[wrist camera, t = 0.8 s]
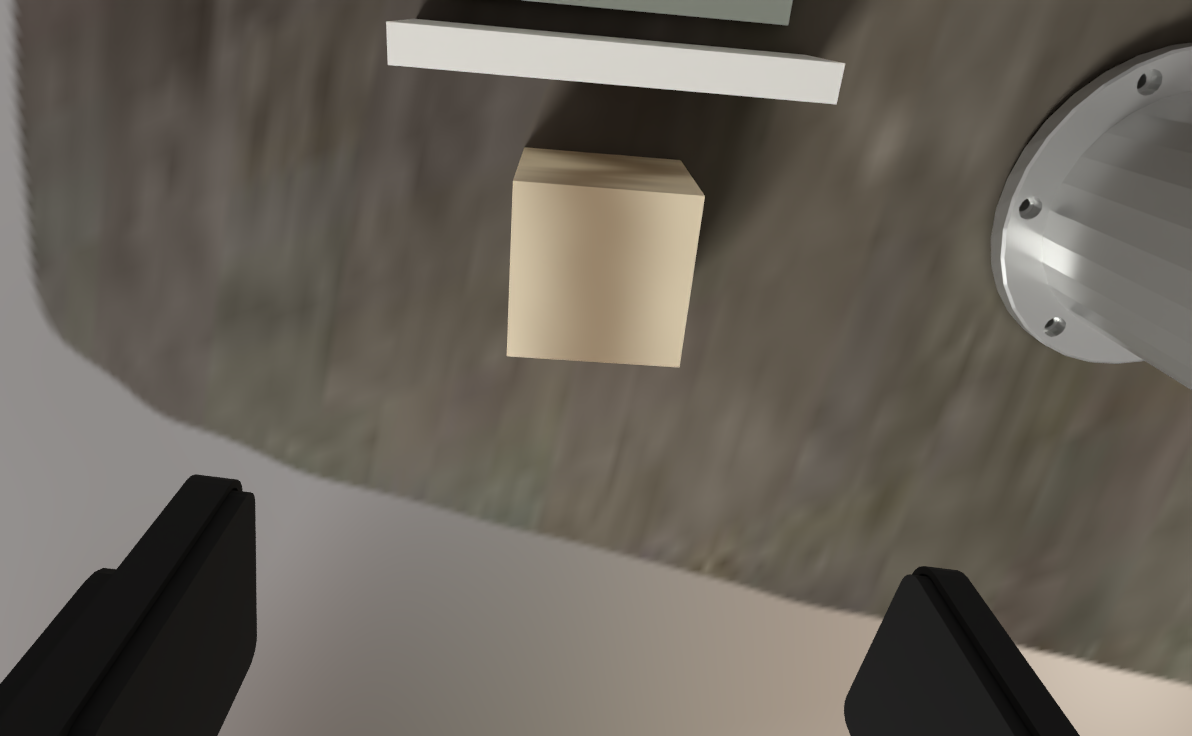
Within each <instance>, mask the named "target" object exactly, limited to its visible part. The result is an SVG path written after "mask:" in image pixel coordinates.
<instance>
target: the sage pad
mask: <svg viewBox="0 0 1192 736" xmlns="http://www.w3.org/2000/svg"><path fill="white" fill-rule="evenodd" d="M523 1H534V2H545V3H555V4H566V5H577V6H587V7H598V8H608V9H619V10H630V11H640V12H651V13H661V14H672V15H683V16H693V17H704V18H714V19H725V20H736V21H746V22H757V23H768V24H778V25H788V24H789V19H790V13H791V7H792V2H793V0H523Z"/></svg>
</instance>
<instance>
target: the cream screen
mask: <svg viewBox="0 0 1192 736" xmlns="http://www.w3.org/2000/svg"><path fill="white" fill-rule="evenodd" d="M386 26H387V54H388V65H396V66H407V67H419V68H430V69H441V70H453V71H464V72H475V73H487V74H498V75H510V76H521V77H532V78H544V79H555V80H566V81H578V82H589V83H600V84H612V85H623V86H634V87H646V88H657V89H669V90H680V91H691V92H703V93H714V94H725V95H737V96H748V97H759V98H771V99H782V100H794V101H805V102H816V103H828V104H837V99H838V95H839V90H840V85H841V81H842V76H843V71H844V67H845V63H841V62H836V61H832V60H827V59H822V58H818V57H813V56H809V55H804V54H793V53H782V52H771V51H760V50H749V49H738V48H727V47H717V46H706V45H695V44H684V43H673V42H662V41H651V40H640V39H630V38H619V37H608V36H597V35H586V34H575V33H564V32H553V31H543V30H532V29H521V28H510V27H499V26H488V25H477V24H466V23H455V22H445V21H434V20H423V19H408V20H397V21H386Z"/></svg>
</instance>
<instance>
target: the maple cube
mask: <svg viewBox="0 0 1192 736" xmlns="http://www.w3.org/2000/svg"><path fill="white" fill-rule="evenodd" d="M704 199H705V195H704V194H703V192H702V191H701V189H700V188H699V187H698V185H697V184H696V182H695V181H694V179H693V178H692V176H691V175H690V173H689V172H688V170H687V169H686V167H685V166H684V165H683V163H682V162H681V160H672V159H660V158H648V157H636V156H624V155H612V154H600V153H587V152H575V151H563V150H551V149H539V148H527V147H524V150H523V153H522V156H521V159H520V162H519V165H518V168H517V171H516V174H515V177H514V180H513V197H512V225H511V253H510V282H509V310H508V338H507V356H512V357H528V358H543V359H558V360H574V361H589V362H605V363H620V364H636V365H651V366H666V367H679V366H680V359H681V353H682V346H683V339H684V333H685V326H686V319H687V313H688V306H689V299H690V293H691V286H692V279H693V273H694V266H695V259H696V253H697V246H698V239H699V233H700V226H701V219H702V213H703V206H704Z"/></svg>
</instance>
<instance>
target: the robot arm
mask: <svg viewBox="0 0 1192 736" xmlns="http://www.w3.org/2000/svg"><path fill="white" fill-rule="evenodd" d="M1022 202H1023V204H1022ZM1021 204H1022V205H1021ZM1020 205H1021V206H1020ZM991 267H992V271H993V275H994V279H995V283H996V287H997V291H998V293H999V295H1000V297H1001V299H1002V301H1003V303H1004V305H1005V307H1006V308H1007V310H1008V312H1009V313H1010V314H1011V316H1012V317H1013V318H1014V319H1015V320H1016V321H1017V322H1018V323H1019V325H1020V326H1021V327H1022V328H1023V329H1024V330H1025V331H1027V332H1028V333H1029V334H1031V335H1032V336H1033V337H1035V338H1036V339H1037V340H1038V341H1040V342H1041V343H1043V344H1044V345H1046V346H1048V347H1050V348H1052V349H1054V350H1056V351H1057V352H1059V353H1061V354H1063V355H1065V356H1069V357H1073V358H1076V359H1080V360H1084V361H1087V362H1096V363H1111V364H1120V363H1129V362H1139V361H1146V362H1147V363H1149V364H1151V365H1152V366H1154V367H1155V368H1157V369H1159V370H1160V371H1162V372H1163V373H1165V374H1167V375H1168V376H1170V377H1171V378H1173V379H1175V380H1176V381H1178V382H1179V383H1181V384H1183V385H1184V386H1186V387H1187V388H1189V389H1191V390H1192V43H1184V44H1176V45H1170V46H1167V47H1164V48H1161V49H1157V50H1154V51H1151V52H1148V53H1144V54H1141V55H1138V56H1136V57H1134V58H1132V59H1130V60H1128V61H1126V62H1124V63H1122V64H1120V65H1118V66H1116V67H1114V68H1112V69H1110V70H1108V71H1106V72H1104V73H1103V74H1101V75H1100V76H1099V77H1097V78H1096V79H1094V80H1093V81H1092V82H1090V83H1089V84H1087V85H1086V86H1084V87H1083V88H1082V89H1080V90H1079V91H1077V92H1076V93H1075V94H1073V95H1072V96H1071V97H1070V98H1069V99H1068V100H1067V101H1066V102H1065V103H1064V104H1063V105H1062V106H1061V107H1060V108H1059V109H1058V110H1057V111H1055V112H1054V113H1053V114H1052V115H1051V116H1050V117H1049V118H1048V119H1047V120H1046V121H1045V123H1044V124H1043V125H1042V127H1041V128H1040V129H1039V130H1038V132H1037V133H1036V134H1035V135H1034V137H1033V138H1032V139H1031V141H1030V142H1029V143H1028V144H1027V146H1026V147H1025V148H1024V150H1023V152H1022V153H1021V155H1020V157H1019V159H1018V161H1017V162H1016V164H1015V166H1014V168H1013V169H1012V171H1011V173H1010V175H1009V176H1008V178H1007V181H1006V183H1005V186H1004V189H1003V192H1002V194H1001V197H1000V200H999V202H998V205H997V208H996V212H995V218H994V223H993V229H992V234H991ZM255 532H256V531H255V497H254V494H253V493H251V492H243V491H242V485H241V482H240V481H239V480H235V479H228V478H220V477H211V476H204V475H192V476H191V477H190V478H189V479H187V480H186V482H185V483H184V484H183V486H182V487H181V488H180V490H179V491H178V492H177V493H176V494H175V496H174V497H173V498H172V500H171V501H170V502H169V503H168V505H167V506H166V507H165V508H164V510H163V511H162V512H161V514H160V515H159V516H158V518H157V519H156V520H155V521H154V522H153V524H152V525H151V526H150V528H149V529H148V530H147V531H146V533H145V534H144V535H143V536H142V538H141V539H140V540H139V542H138V543H137V544H136V545H135V547H134V548H133V549H132V550H131V552H130V553H129V554H128V556H127V557H126V558H125V559H124V561H123V562H122V563H121V564H120V566H119V567H118V568H117V569H107V568H102V569H100V570H98V571H96V572H94V573H93V574H92V575H91V576H90V577H89V578H88V579H87V580H86V581H85V582H84V583H83V585H82V586H81V587H80V588H79V589H78V590H77V592H76V593H75V594H74V595H73V597H72V598H71V599H70V600H69V601H68V603H67V604H66V605H65V606H64V607H63V609H62V610H61V611H60V612H59V614H58V615H57V616H56V617H55V618H54V620H53V621H52V622H51V623H50V624H49V626H48V627H47V628H46V629H45V630H44V632H43V633H42V634H41V635H40V637H39V638H38V639H37V640H36V642H35V643H34V644H33V645H32V646H31V647H30V649H29V650H28V651H27V652H26V654H25V655H24V656H23V657H22V658H21V660H20V661H19V662H18V663H17V664H16V666H15V667H14V668H13V669H12V671H11V672H10V673H9V674H8V675H7V677H6V678H5V679H4V680H3V682H2V683H1V684H0V736H217V735H218V733H219V731H220V729H221V727H222V725H223V723H224V721H225V718H226V716H227V714H228V712H229V710H230V708H231V706H232V703H233V701H234V699H235V697H236V695H237V693H238V691H239V688H240V686H241V684H242V682H243V680H244V678H245V676H246V674H247V671H248V669H249V667H250V665H251V662H252V659H253V656H254V652H255V647H256V641H257V614H256V533H255ZM844 714H845V715H844V716H845V721H846V724H847V727H848V730H849V733H850V735H851V736H1080V735H1079V734H1078V733H1077V731H1076V730H1075V729H1074V727H1073V725H1072V724H1071V723H1070V721H1069V720H1068V718H1067V717H1066V716H1065V714H1064V713H1063V711H1062V710H1061V709H1060V707H1059V706H1058V704H1057V703H1056V702H1055V700H1054V699H1053V697H1052V696H1051V694H1050V693H1049V692H1048V690H1047V689H1046V687H1045V686H1044V685H1043V683H1042V682H1041V680H1040V679H1039V678H1038V676H1037V675H1036V673H1035V672H1034V671H1033V669H1032V668H1031V666H1030V665H1029V664H1028V663H1027V661H1026V659H1025V658H1024V656H1023V655H1022V654H1021V652H1020V651H1019V649H1018V648H1017V647H1016V645H1015V644H1014V642H1013V641H1012V640H1011V638H1010V637H1009V635H1008V634H1007V632H1006V631H1005V630H1004V628H1003V627H1002V625H1001V624H1000V623H999V621H998V620H997V618H996V617H995V616H994V614H993V613H992V611H991V610H990V609H989V607H988V606H987V604H986V603H985V601H984V600H983V599H982V597H981V596H980V594H979V593H978V592H977V590H976V589H975V587H974V586H973V585H972V583H971V582H970V580H969V579H968V578H967V577H966V576H965V575H964V573H962V572H960V571H958V570H950V569H942V568H934V567H926V566H922V567H918V568H917V569H916V570H915V571H914V572H913V574H912V575H906V576H905V577H904V578H903V579H902V581H901V583H900V585H899V587H898V589H897V591H896V593H895V595H894V598H893V600H892V602H891V604H890V606H889V608H888V610H887V612H886V614H885V616H884V619H883V621H882V623H881V625H880V627H879V629H878V631H877V634H876V636H875V638H874V640H873V642H872V644H871V646H870V648H869V650H868V653H867V654H866V656H865V659H864V661H863V663H862V665H861V667H860V669H859V671H858V673H857V675H856V678H855V680H854V682H853V684H852V686H851V688H850V690H849V693H848V695H847V697H846V700H845V705H844Z"/></svg>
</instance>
